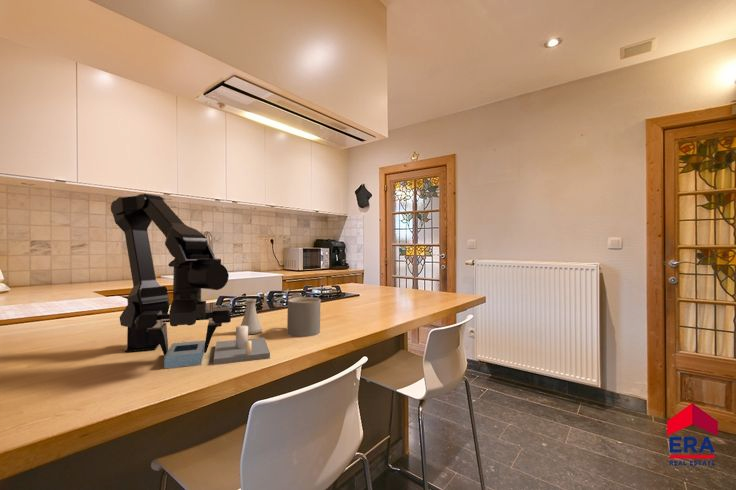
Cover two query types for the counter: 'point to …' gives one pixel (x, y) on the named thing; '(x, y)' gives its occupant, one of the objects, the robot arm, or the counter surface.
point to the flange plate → (184, 354)
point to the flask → (251, 318)
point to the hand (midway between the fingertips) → (186, 354)
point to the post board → (241, 348)
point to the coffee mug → (303, 317)
